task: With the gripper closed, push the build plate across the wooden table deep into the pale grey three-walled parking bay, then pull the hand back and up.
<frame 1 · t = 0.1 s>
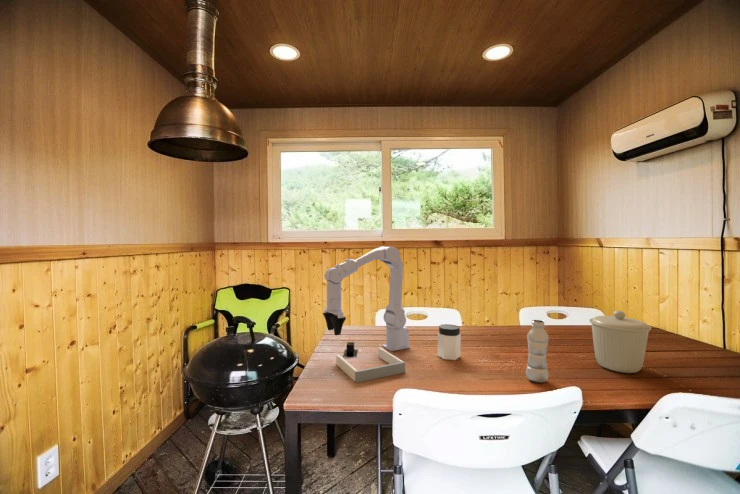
hand: (334, 332, 130), 10 cm above the table, tool pointing down, fingers open, 7 cm apart
parking bay: (369, 367, 120), on the table
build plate: (350, 355, 135), on the table
plastic bottle: (536, 381, 110), on the table
jar: (448, 356, 132), on the table
canister: (618, 368, 121), on the table
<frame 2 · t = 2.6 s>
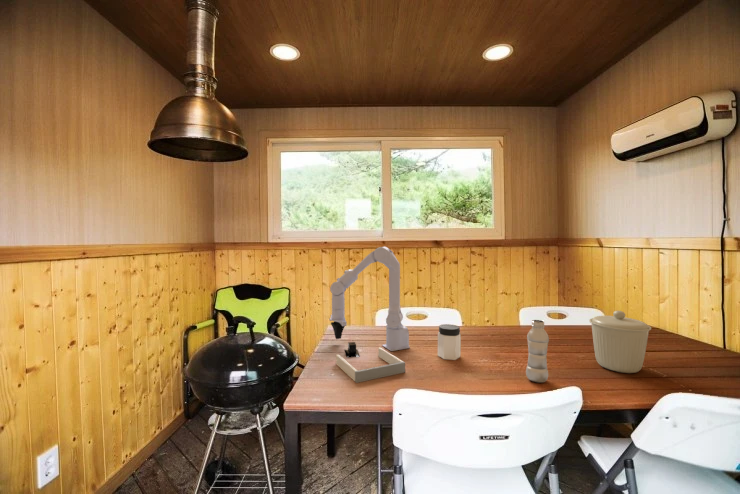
hand: (338, 338, 147), 2 cm above the table, tool pointing down, fingers closed
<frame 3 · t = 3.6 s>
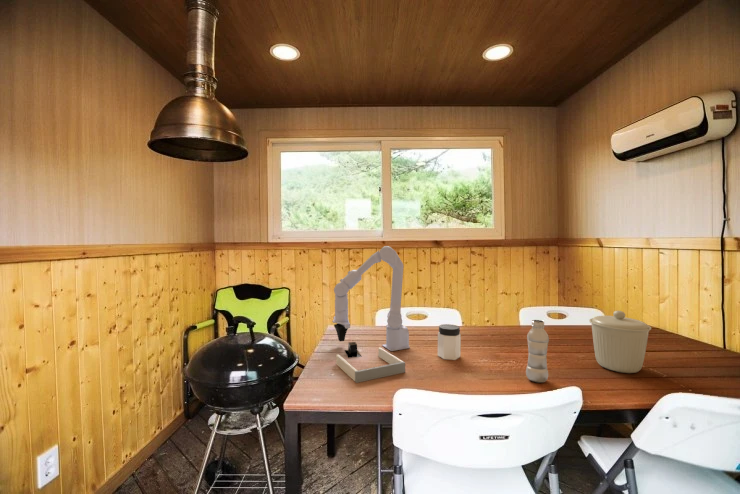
hand: (341, 340, 144), 2 cm above the table, tool pointing down, fingers closed
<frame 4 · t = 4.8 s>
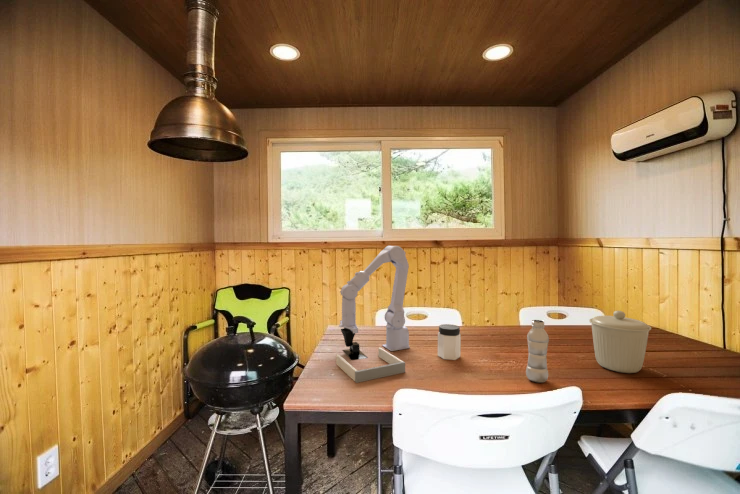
hand: (348, 346, 137), 2 cm above the table, tool pointing down, fingers closed
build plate: (354, 354, 135), on the table
everything else where it was.
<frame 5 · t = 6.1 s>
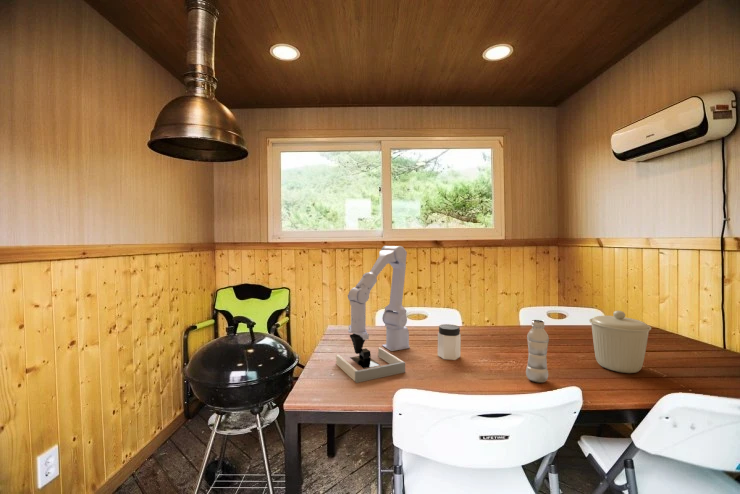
hand: (358, 353, 129), 2 cm above the table, tool pointing down, fingers closed
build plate: (364, 362, 126), on the table, touching gripper
everything else where it was.
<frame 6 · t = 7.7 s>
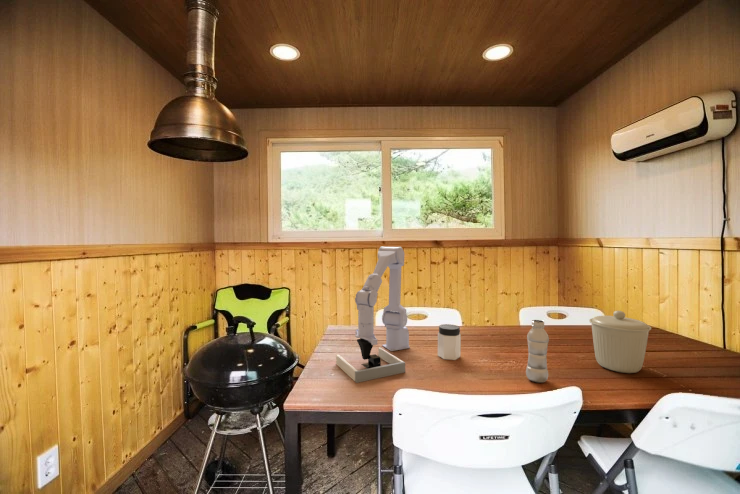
hand: (365, 358, 123), 2 cm above the table, tool pointing down, fingers closed
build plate: (374, 369, 121), on the table, touching gripper
everything else where it was.
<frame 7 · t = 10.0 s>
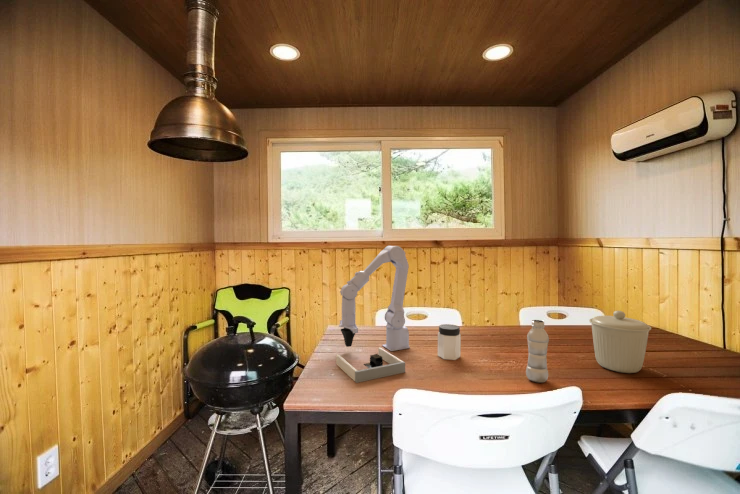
hand: (348, 345, 137), 2 cm above the table, tool pointing down, fingers closed
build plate: (376, 368, 121), on the table
everything else where it was.
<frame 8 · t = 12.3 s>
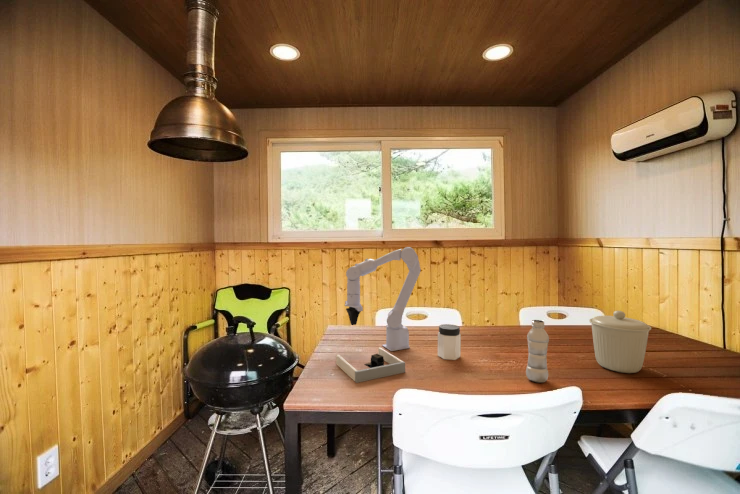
hand: (353, 324, 145), 9 cm above the table, tool pointing down, fingers closed
nothing on the table moved.
at the end: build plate inside the target area (3.8 cm from its centre), on the table; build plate tilted 0°; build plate moved 17.7 cm from its start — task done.
